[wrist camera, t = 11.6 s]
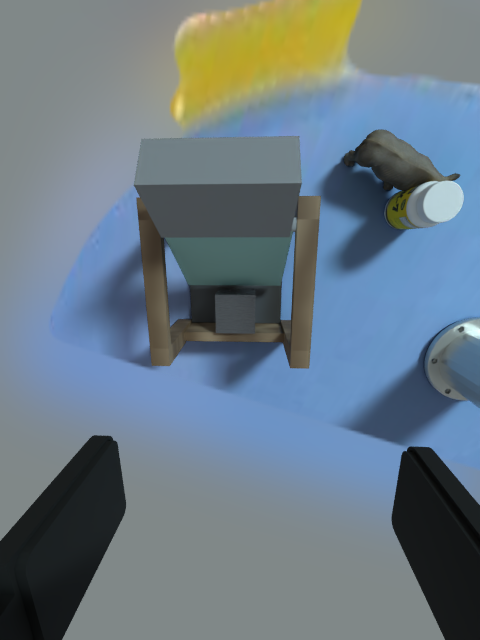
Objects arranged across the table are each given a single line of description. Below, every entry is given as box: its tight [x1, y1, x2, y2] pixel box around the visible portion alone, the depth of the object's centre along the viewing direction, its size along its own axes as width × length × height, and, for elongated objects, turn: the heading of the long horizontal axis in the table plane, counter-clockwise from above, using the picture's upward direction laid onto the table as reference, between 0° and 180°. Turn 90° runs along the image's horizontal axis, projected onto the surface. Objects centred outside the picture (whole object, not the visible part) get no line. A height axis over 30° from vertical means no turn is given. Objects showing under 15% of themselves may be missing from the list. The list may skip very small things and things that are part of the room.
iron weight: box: [215, 288, 255, 334], centre depth 38 cm, size 5×5×5 cm
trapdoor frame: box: [137, 196, 321, 368], centre depth 34 cm, size 17×17×12 cm
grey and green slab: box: [134, 136, 302, 286], centre depth 28 cm, size 12×19×4 cm
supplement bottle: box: [384, 181, 464, 230], centre depth 33 cm, size 5×5×8 cm
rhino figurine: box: [344, 130, 460, 191], centre depth 33 cm, size 4×14×6 cm, turn 64°
